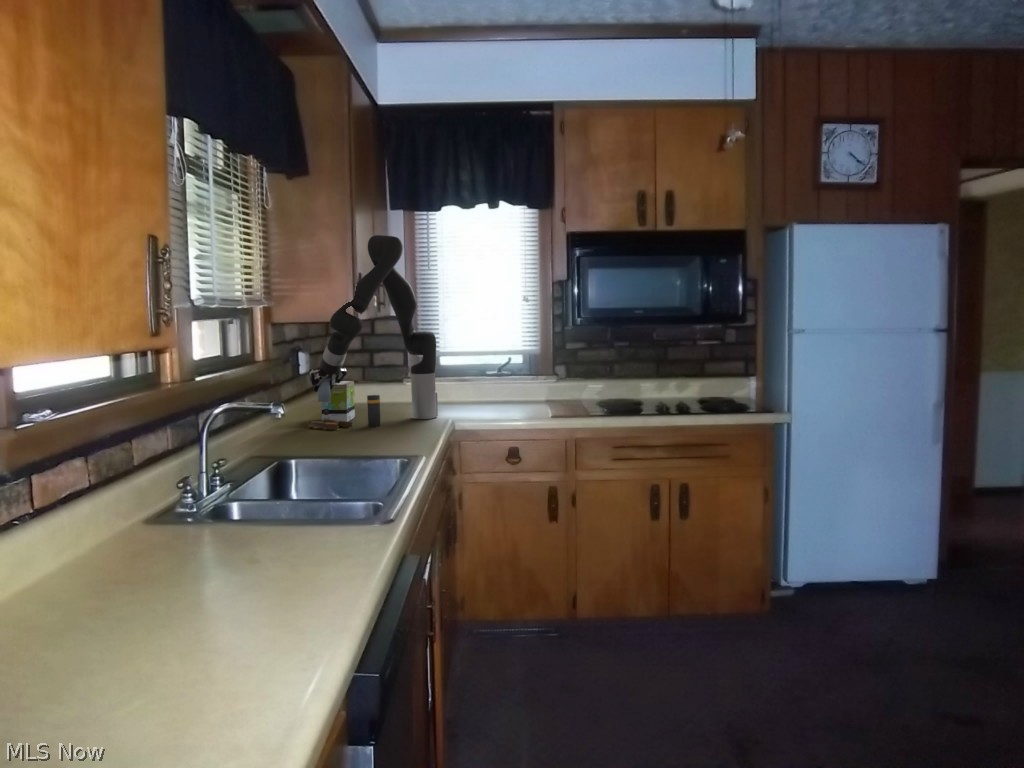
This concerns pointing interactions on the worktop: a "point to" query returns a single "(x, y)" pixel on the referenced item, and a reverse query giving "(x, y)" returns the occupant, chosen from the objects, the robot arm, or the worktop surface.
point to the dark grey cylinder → (373, 410)
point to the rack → (330, 424)
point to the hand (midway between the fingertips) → (321, 389)
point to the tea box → (340, 402)
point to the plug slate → (324, 391)
